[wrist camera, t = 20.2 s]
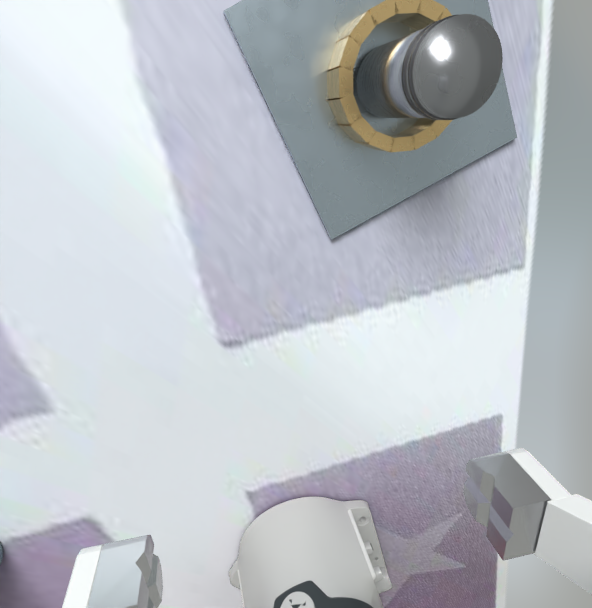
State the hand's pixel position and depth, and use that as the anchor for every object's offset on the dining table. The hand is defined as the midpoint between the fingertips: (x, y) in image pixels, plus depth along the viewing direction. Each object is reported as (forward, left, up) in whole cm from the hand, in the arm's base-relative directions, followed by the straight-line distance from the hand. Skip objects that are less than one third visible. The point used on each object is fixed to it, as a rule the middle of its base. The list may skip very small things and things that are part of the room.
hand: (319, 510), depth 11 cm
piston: (+5, -16, -27) cm, 31 cm away
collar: (+5, -16, -27) cm, 32 cm away
